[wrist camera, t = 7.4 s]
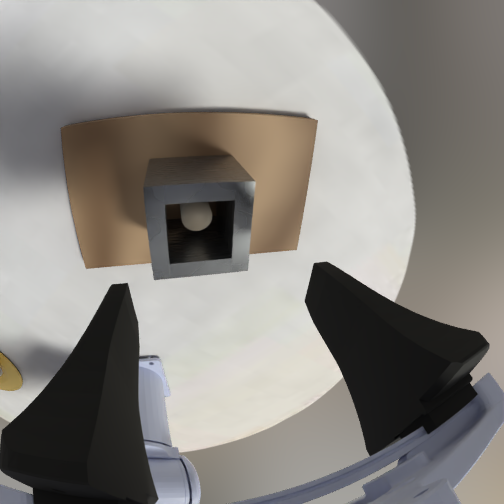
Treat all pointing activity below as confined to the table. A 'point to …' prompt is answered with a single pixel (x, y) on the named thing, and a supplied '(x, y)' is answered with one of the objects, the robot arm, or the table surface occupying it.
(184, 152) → the keeper board
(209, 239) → the grey hollow cube
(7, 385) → the cup
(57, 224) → the table surface
